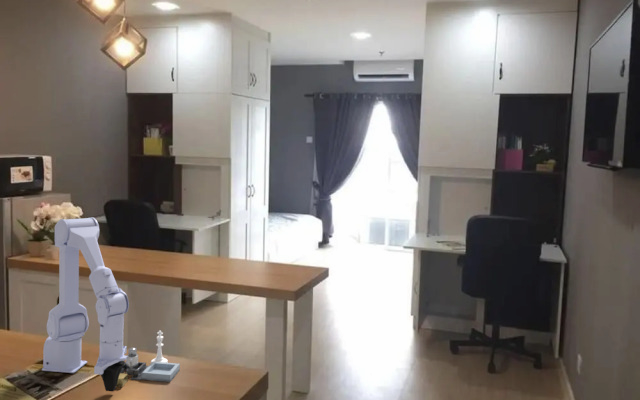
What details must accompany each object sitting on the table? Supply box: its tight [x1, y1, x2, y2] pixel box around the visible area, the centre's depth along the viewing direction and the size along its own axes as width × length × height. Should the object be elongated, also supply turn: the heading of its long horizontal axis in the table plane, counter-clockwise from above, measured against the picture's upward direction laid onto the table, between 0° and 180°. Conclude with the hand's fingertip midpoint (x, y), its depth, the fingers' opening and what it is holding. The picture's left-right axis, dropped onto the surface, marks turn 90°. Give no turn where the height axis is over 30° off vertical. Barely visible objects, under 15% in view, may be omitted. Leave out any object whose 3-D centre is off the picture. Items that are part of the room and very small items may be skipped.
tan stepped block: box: [116, 372, 129, 388], centre depth 148 cm, size 3×4×2 cm
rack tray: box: [141, 362, 181, 383], centre depth 155 cm, size 8×8×2 cm
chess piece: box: [150, 330, 169, 364], centre depth 163 cm, size 5×5×10 cm
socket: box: [120, 361, 149, 381], centre depth 156 cm, size 9×9×2 cm
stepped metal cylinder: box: [125, 346, 139, 376], centre depth 155 cm, size 3×3×7 cm
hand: (110, 390), depth 142 cm, fingers closed
